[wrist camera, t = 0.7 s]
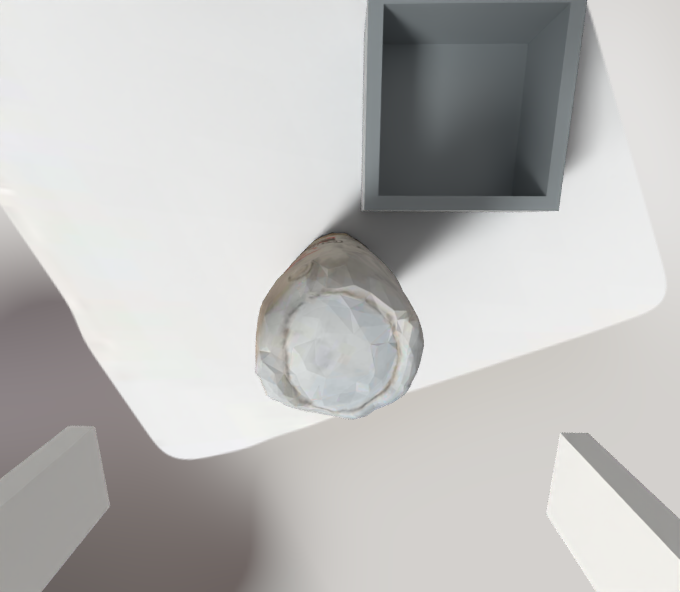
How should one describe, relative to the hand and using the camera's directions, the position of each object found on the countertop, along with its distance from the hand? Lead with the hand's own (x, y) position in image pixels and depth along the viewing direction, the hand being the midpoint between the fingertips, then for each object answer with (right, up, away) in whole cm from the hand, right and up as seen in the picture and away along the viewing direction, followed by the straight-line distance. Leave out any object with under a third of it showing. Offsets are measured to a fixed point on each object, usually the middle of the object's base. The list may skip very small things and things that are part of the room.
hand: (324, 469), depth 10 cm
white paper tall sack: (0, +7, +23) cm, 25 cm away
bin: (+9, +19, +20) cm, 30 cm away
